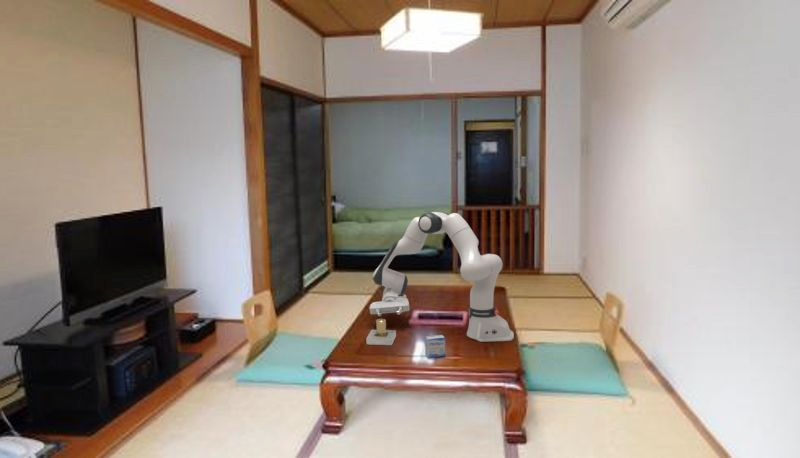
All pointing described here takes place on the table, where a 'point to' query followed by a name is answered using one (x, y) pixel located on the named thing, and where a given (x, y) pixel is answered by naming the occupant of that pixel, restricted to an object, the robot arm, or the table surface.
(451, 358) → the table surface
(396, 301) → the robot arm
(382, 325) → the brass bushing
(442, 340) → the medicine box
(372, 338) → the aluminium jig
